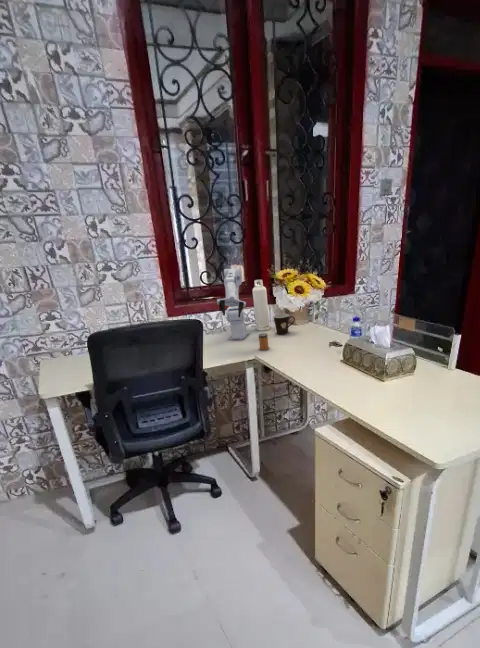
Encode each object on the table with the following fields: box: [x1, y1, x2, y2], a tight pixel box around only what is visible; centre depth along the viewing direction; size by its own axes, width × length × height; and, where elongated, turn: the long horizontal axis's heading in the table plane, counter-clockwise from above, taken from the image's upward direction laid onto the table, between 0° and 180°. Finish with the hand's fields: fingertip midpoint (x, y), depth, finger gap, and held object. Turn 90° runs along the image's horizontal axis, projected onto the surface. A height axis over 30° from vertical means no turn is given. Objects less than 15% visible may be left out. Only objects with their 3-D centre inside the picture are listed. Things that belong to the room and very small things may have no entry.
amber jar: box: [257, 332, 270, 351], centre depth 215 cm, size 5×5×8 cm
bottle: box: [251, 279, 271, 331], centre depth 243 cm, size 8×8×28 cm
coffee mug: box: [273, 313, 296, 336], centre depth 236 cm, size 12×9×10 cm
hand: (231, 315), depth 208 cm, fingers open, 7 cm apart
